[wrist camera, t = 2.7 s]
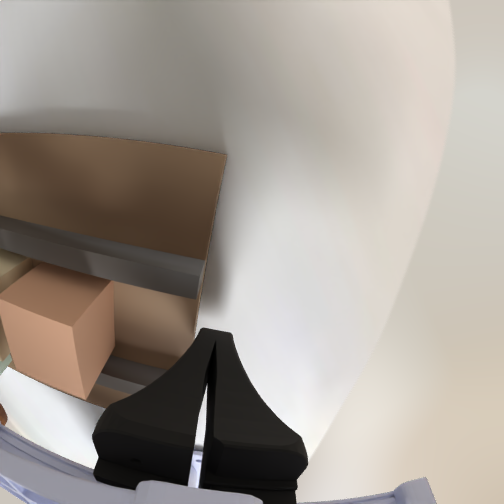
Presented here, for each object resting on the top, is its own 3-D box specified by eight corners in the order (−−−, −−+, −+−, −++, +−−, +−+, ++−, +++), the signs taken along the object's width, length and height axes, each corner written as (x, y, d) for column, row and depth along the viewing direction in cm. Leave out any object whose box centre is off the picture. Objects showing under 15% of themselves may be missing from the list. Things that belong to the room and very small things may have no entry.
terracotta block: (115, 345, 14) (86, 400, 10) (53, 325, 13) (16, 369, 10) (113, 278, 12) (71, 327, 9) (45, 259, 12) (-4, 296, 8)
